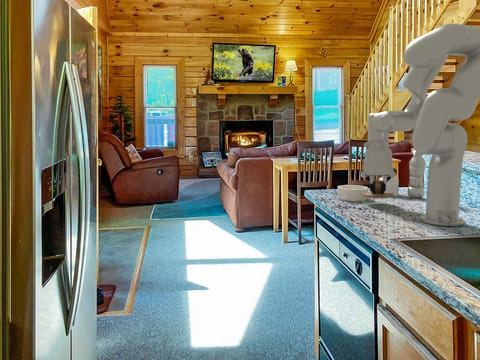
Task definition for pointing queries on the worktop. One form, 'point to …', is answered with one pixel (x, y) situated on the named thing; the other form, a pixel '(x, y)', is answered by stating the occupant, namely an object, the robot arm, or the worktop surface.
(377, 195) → the lid
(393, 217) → the worktop surface
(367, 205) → the mat
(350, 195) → the bowl
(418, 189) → the plastic bottle
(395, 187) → the medicine bottle
